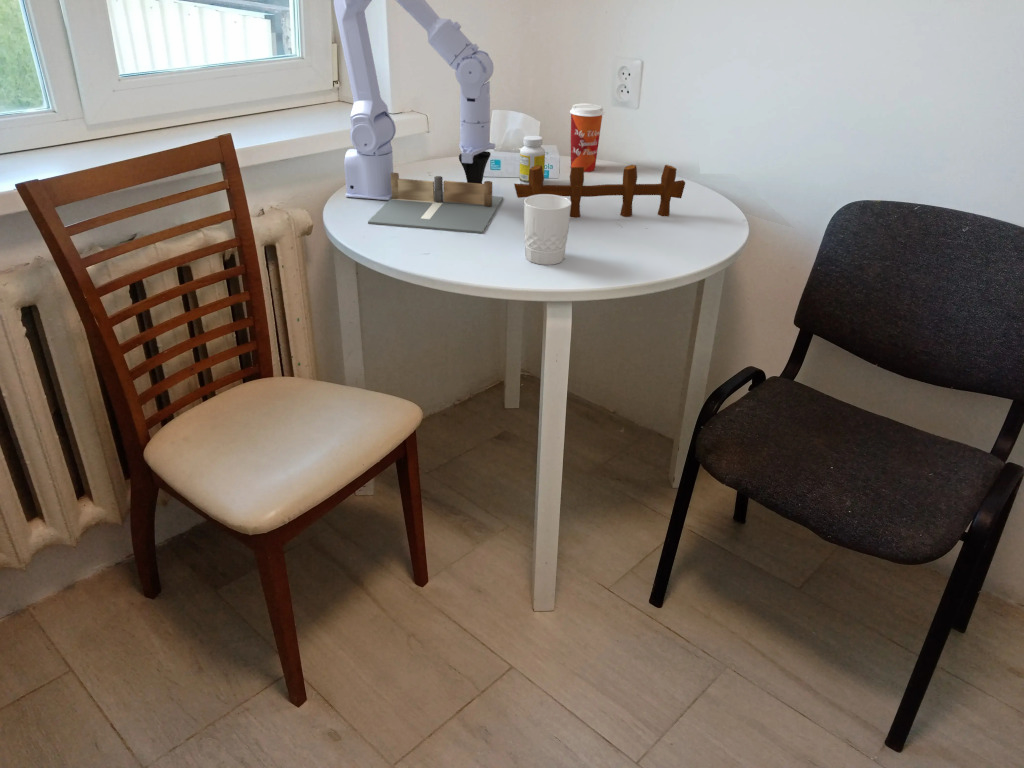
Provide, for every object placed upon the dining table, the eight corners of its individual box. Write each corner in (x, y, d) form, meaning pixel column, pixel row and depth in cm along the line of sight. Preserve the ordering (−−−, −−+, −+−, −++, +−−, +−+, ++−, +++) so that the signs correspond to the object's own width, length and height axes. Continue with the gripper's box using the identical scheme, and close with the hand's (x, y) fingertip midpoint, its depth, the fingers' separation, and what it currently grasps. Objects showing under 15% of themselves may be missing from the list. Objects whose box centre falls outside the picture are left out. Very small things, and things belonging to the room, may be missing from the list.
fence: (514, 219, 154) (515, 168, 148) (512, 214, 156) (514, 164, 151) (681, 217, 157) (688, 167, 152) (677, 212, 160) (684, 163, 155)
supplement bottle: (544, 180, 176) (546, 135, 171) (542, 187, 171) (545, 141, 166) (520, 178, 176) (521, 133, 171) (518, 185, 172) (519, 140, 167)
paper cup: (571, 174, 180) (576, 110, 173) (562, 164, 187) (565, 103, 180) (604, 172, 182) (609, 109, 175) (593, 163, 188) (598, 102, 181)
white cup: (520, 249, 140) (521, 194, 135) (564, 249, 141) (567, 194, 135) (524, 266, 133) (526, 209, 128) (570, 266, 134) (574, 209, 129)
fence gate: (443, 202, 159) (442, 179, 156) (445, 200, 160) (444, 177, 158) (491, 206, 158) (491, 183, 155) (492, 204, 159) (493, 181, 157)
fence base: (390, 199, 160) (389, 174, 158) (393, 196, 162) (392, 172, 159) (441, 203, 159) (441, 178, 156) (443, 200, 160) (443, 176, 158)
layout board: (368, 223, 149) (367, 221, 149) (400, 190, 167) (400, 188, 167) (482, 233, 146) (482, 231, 146) (503, 198, 164) (503, 196, 164)
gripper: (488, 130, 145) (487, 202, 152) (502, 113, 158) (500, 180, 165) (450, 127, 146) (451, 199, 153) (467, 111, 159) (467, 178, 166)
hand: (474, 189), depth 159 cm, fingers closed
